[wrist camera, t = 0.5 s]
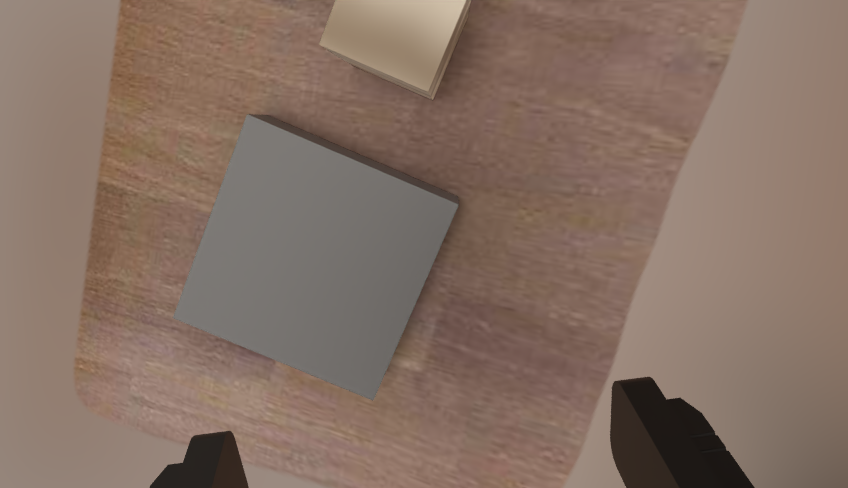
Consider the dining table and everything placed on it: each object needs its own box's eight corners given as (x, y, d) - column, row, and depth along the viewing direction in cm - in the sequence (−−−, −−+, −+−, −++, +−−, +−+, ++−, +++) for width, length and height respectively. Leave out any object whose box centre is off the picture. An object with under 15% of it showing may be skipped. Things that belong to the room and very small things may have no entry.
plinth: (267, 115, 38) (247, 114, 34) (457, 196, 39) (458, 204, 35) (199, 299, 40) (172, 317, 36) (380, 373, 41) (373, 400, 37)
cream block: (385, -20, 37) (363, -73, 27) (468, 16, 37) (475, -23, 27) (352, 65, 38) (319, 44, 28) (433, 100, 38) (428, 92, 28)
